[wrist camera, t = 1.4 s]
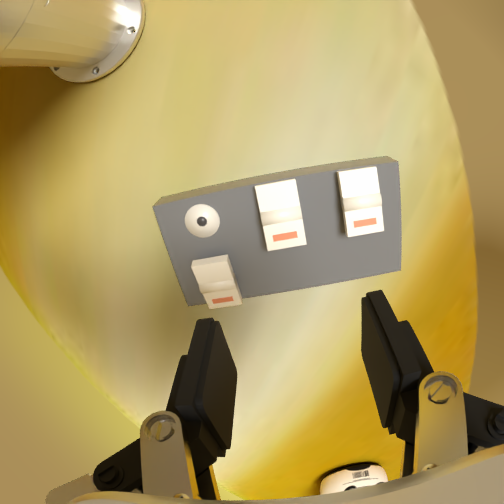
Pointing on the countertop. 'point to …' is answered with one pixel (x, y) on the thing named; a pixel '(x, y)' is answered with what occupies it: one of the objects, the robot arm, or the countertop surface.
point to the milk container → (353, 478)
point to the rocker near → (360, 201)
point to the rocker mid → (281, 214)
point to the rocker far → (217, 281)
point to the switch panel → (288, 259)
